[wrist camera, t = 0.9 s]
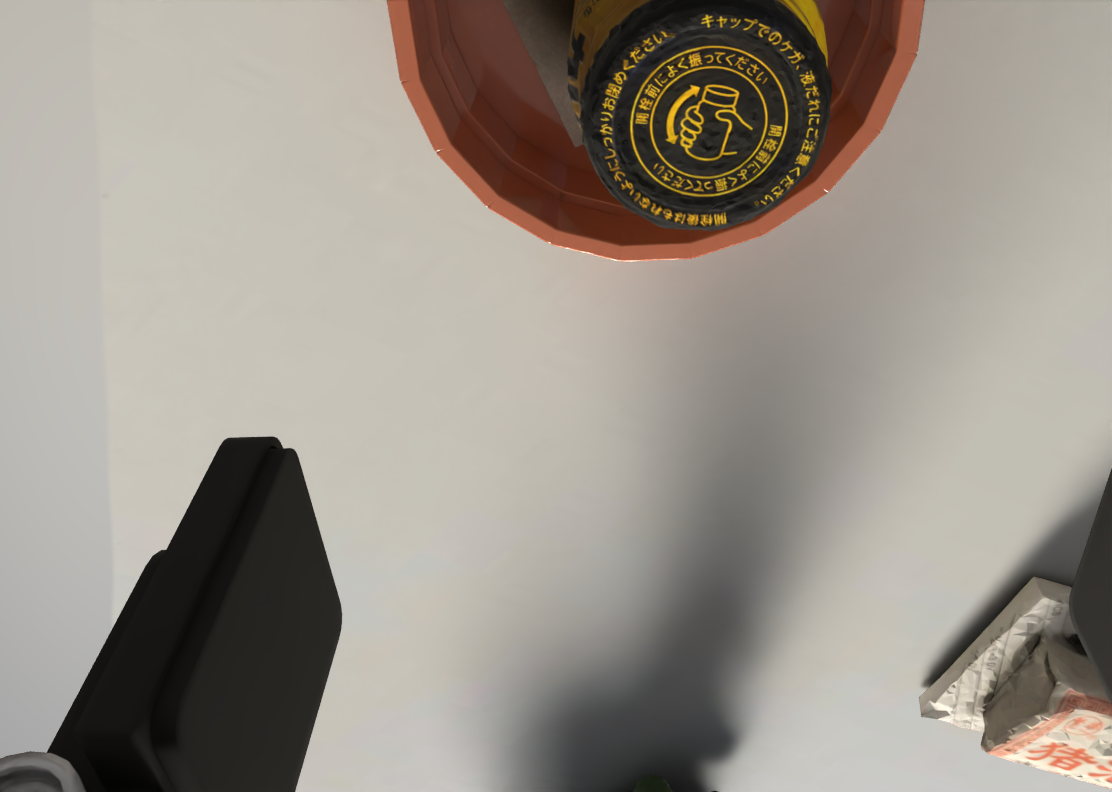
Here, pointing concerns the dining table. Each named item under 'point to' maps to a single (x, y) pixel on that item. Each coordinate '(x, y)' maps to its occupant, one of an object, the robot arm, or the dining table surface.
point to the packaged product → (1031, 690)
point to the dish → (565, 170)
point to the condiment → (687, 99)
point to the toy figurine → (653, 784)
